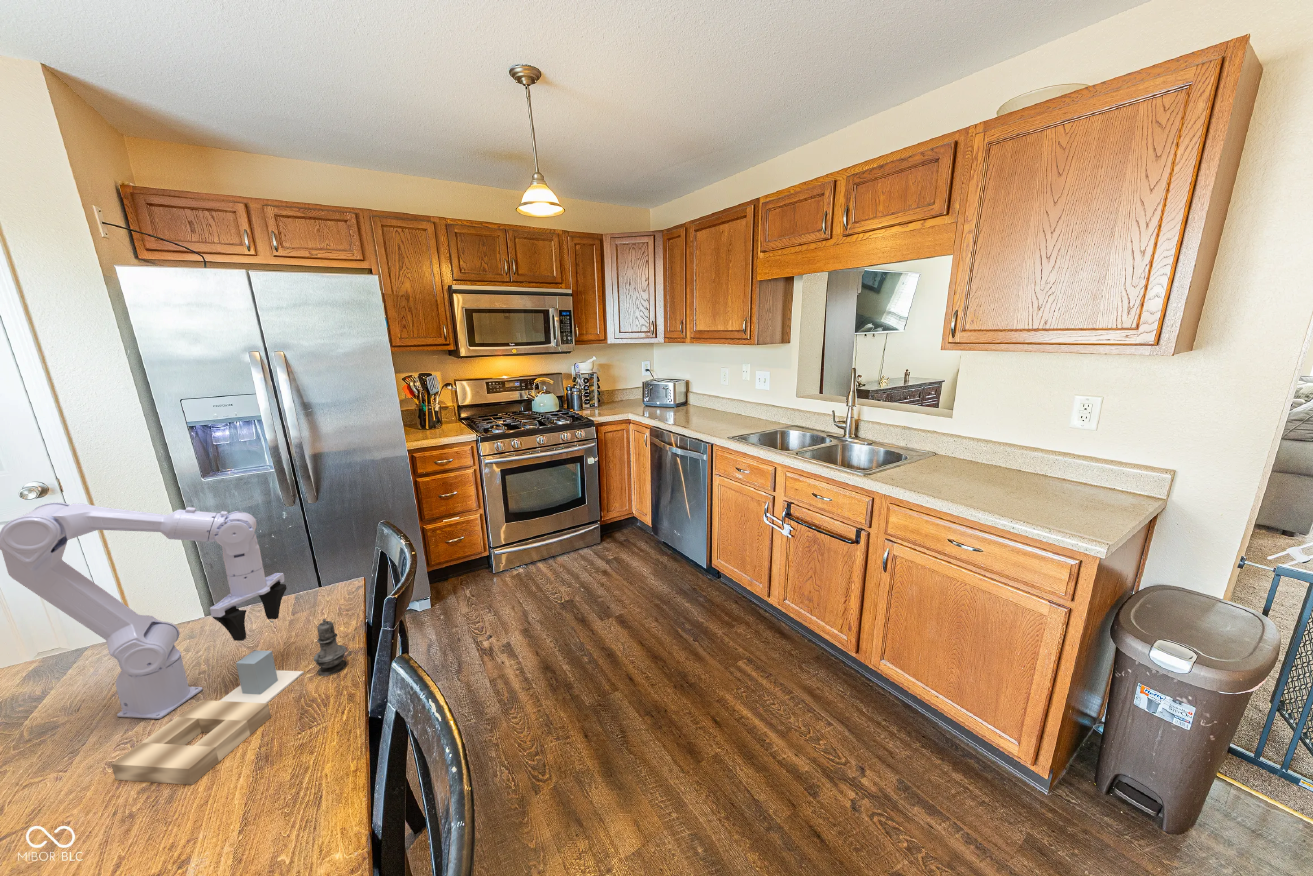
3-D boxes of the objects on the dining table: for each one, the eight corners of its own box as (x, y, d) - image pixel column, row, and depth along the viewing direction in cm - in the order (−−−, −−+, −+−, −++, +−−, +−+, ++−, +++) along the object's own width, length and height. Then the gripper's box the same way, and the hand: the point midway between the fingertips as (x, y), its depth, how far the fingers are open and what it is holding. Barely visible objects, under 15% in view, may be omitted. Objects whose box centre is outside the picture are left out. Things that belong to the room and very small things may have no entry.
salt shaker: (331, 678, 98) (323, 628, 96) (309, 675, 99) (299, 625, 97) (354, 660, 104) (346, 612, 102) (333, 657, 105) (324, 609, 103)
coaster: (215, 705, 91) (214, 704, 91) (261, 671, 101) (261, 669, 101) (261, 708, 90) (261, 706, 90) (303, 673, 100) (303, 671, 100)
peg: (242, 693, 94) (235, 663, 93) (260, 679, 98) (254, 650, 96) (260, 694, 93) (254, 663, 92) (278, 680, 97) (272, 651, 96)
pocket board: (115, 779, 76) (110, 764, 75) (204, 713, 89) (201, 700, 89) (192, 784, 74) (188, 769, 74) (270, 717, 88) (268, 703, 87)
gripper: (228, 588, 89) (241, 650, 92) (292, 555, 103) (302, 610, 106) (195, 587, 90) (209, 649, 92) (263, 554, 104) (274, 609, 106)
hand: (257, 628), depth 99 cm, fingers open, 7 cm apart
